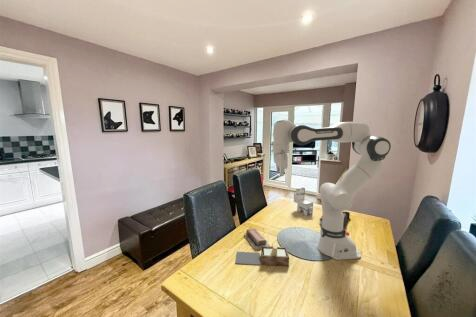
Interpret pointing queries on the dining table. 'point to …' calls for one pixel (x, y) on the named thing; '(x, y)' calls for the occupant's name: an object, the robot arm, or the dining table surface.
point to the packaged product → (255, 239)
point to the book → (346, 217)
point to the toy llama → (303, 202)
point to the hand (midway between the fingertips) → (279, 173)
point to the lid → (274, 251)
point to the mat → (248, 258)
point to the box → (274, 257)
